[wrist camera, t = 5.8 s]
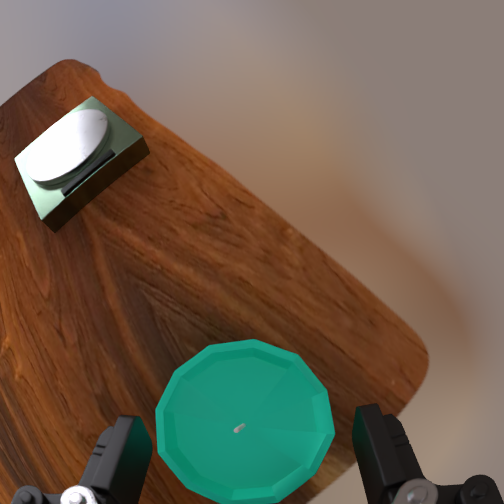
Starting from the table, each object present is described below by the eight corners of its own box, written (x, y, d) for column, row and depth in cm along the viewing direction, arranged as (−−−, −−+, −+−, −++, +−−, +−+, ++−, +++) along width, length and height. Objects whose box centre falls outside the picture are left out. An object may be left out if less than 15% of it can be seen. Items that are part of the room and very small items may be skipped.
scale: (150, 153, 29) (140, 129, 26) (54, 233, 26) (36, 215, 23) (99, 109, 34) (90, 90, 31) (24, 170, 31) (10, 154, 28)
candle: (233, 470, 17) (181, 541, 6) (199, 388, 20) (110, 367, 9) (321, 435, 18) (376, 474, 7) (284, 354, 20) (292, 296, 10)
